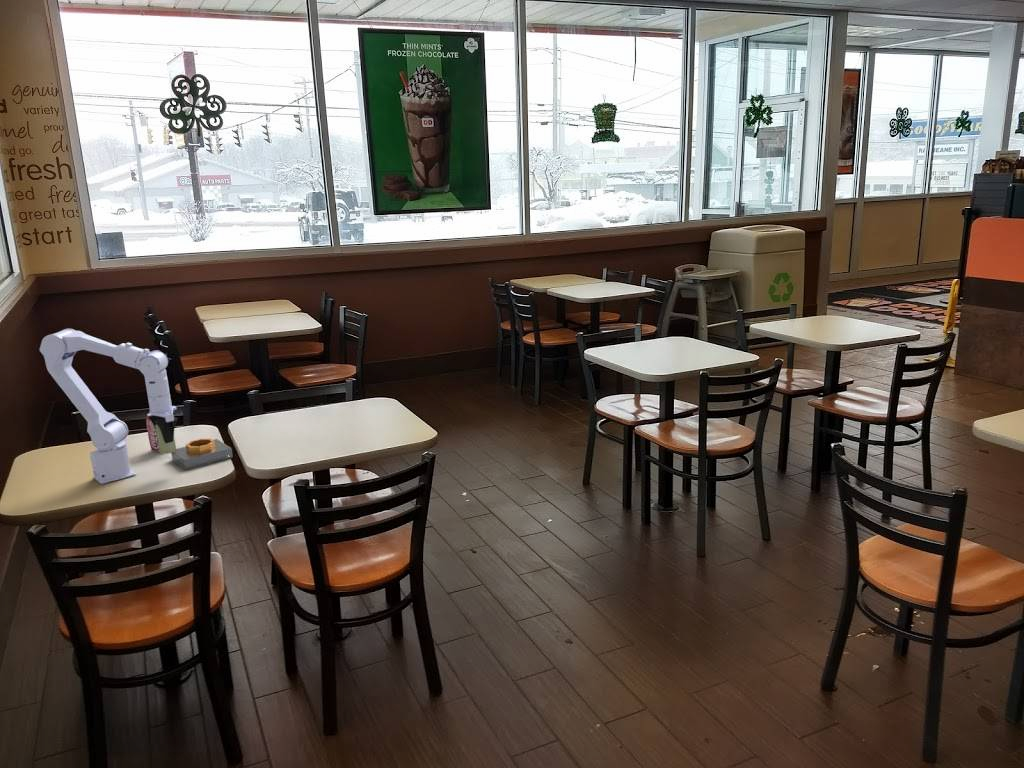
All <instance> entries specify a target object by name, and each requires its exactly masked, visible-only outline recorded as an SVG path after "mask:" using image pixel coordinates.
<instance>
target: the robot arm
mask: <svg viewBox="0 0 1024 768" xmlns="http://www.w3.org/2000/svg"><path fill="white" fill-rule="evenodd" d="M78 351H86V352H91V353H96V354H99V355H102V356H103V355H104V356H107V357H111V358H113V360H114V362H115V363H117V364H119V365H123V366H126V367H130V368H133V369H136V370H138V371H140V372H141V374H142V375H143V376H144V382H145V387H146V393H147V400H148V405H149V406H148V407H149V413H150V414H151V415H150V416H147V417H148V418H149V419H150V421H151V422H152V424H153V425H154V427H155V425H158V427H159V429H160V431H161V433H162V437H163V440H164V442H165V443H170V442H173V439H174V438H175V429H176V425H177V422H178V418H177V417H176V416H175V415H174V411H175V410H176V411H177V410H178V409H177V406H175V405H172V399H171V394H170V386H169V380H168V375H167V369H166V368H167V367H168V364H169V358H168V357H167V355H166V354H165V353H164V352H162V351H161V350H159V349H158V350H152V351H150V349H149V348H141V347H140V348H139V347H137V346H135V345H133V343H131V342H126V343H120V344H118V345H116V344H113V343H111V342H108V341H106V340H104V339H103V340H102V339H101V338H97V337H94V336H91V335H89V334H86V333H85V332H83V331H81V330H75V329H73V328H65V329H62V330H60V331H58V332H55V333H51V334H48V335H46V336H44V337H43V338H42V340H41V343H40V347H39V352H40V353H41V354H42V356H43V358H44V361H45V366H46V369H47V372H48V373H49V374H50V375H51V377H52V379H53V380H54V381H55V382H56V384H57V385H58V386H59V387H60V388H61V390H62V391H63V392H64V393H65V395H66V396H67V397H68V399H69V400H70V401H71V403H72V404H73V405H74V406H75V408H76V409H77V410H78V412H79V413H80V414H81V416H82V417H83V418H84V419H85V421H86V422H87V429H86V431H87V432H86V433H88V434H89V436H90V439H91V443H92V446H94V447H95V450H93V451H90V452H89V455H90V462H91V466H92V472H93V478H94V479H95V480H96V481H97V482H98V483H99V484H101V485H102V484H106V483H110V482H114V481H117V480H122V479H126V478H130V477H133V476H134V477H135V476H136V475H137V473H136V472H135V471H134V470H133V469H131V463H130V457H129V453H128V452H129V451H128V448H127V447H128V445H127V440H126V438H127V437H128V435H129V427H128V425H127V424H126V423H125V421H122V420H120V419H119V418H118V417H117V416H116V415H115V414H114V413H111V412H109V411H107V410H106V409H105V408H104V407H103V406H102V404H101V403H100V402H99V401H98V398H96V396H95V395H94V394H93V392H92V391H91V390H90V389H89V387H88V386H87V385H86V383H85V382H84V381H83V379H82V378H81V377H80V376H79V374H78V373H77V371H76V370H75V368H73V366H72V363H73V360H74V356H75V355H76V353H77V352H78ZM155 430H156V427H155Z"/></svg>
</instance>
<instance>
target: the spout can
mask: <svg viewBox="0 0 1024 768" xmlns="http://www.w3.org/2000/svg"><path fill="white" fill-rule="evenodd" d="M155 427H156V433H157V439H158V445H159V451H160V452H159V454H161V455H162V454H167V455H168V454H171V453H172V452H175V451H176V449H177V445H176V439H175V437H174V439H173V442H170V443H165V442H164V440H163V437H162V433H161V431H160V429H159V427H158V425H155Z"/></svg>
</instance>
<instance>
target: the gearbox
mask: <svg viewBox="0 0 1024 768" xmlns="http://www.w3.org/2000/svg"><path fill="white" fill-rule="evenodd" d="M170 455H171V459H172V461H173V462H175V463H176V464H177V465H180V467H181V468H182V469H184V470H191V469H194V468H197V467H198V468H199V467H201V466H205V465H209V464H213V463H217V462H220V461H225V460H228V459H232V458H233V456H234V455H233V449H232V447H230V445H227V444H226V443H224V442H222V441H221V440H219V438H218V439H217V438H215V439H212V438H198V439H193V440H190V441H189V442H188V443H186V444H185V446H183V447H178V448H176V451H175V452H172V453H170ZM228 455H229V456H230V458H229V457H228Z"/></svg>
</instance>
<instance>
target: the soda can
mask: <svg viewBox="0 0 1024 768" xmlns="http://www.w3.org/2000/svg"><path fill="white" fill-rule="evenodd" d="M150 415H151V414H150V412H149V413H147V414H146V419H145V425H146V431H147V436H148V442H149V445H150V450H151V451H153V452H155V453H160V451H159V445H158V439H157V433H156V430H155V427H154V425H153V424H152V422H151V421H150V419H149V418H148V416H150Z"/></svg>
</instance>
